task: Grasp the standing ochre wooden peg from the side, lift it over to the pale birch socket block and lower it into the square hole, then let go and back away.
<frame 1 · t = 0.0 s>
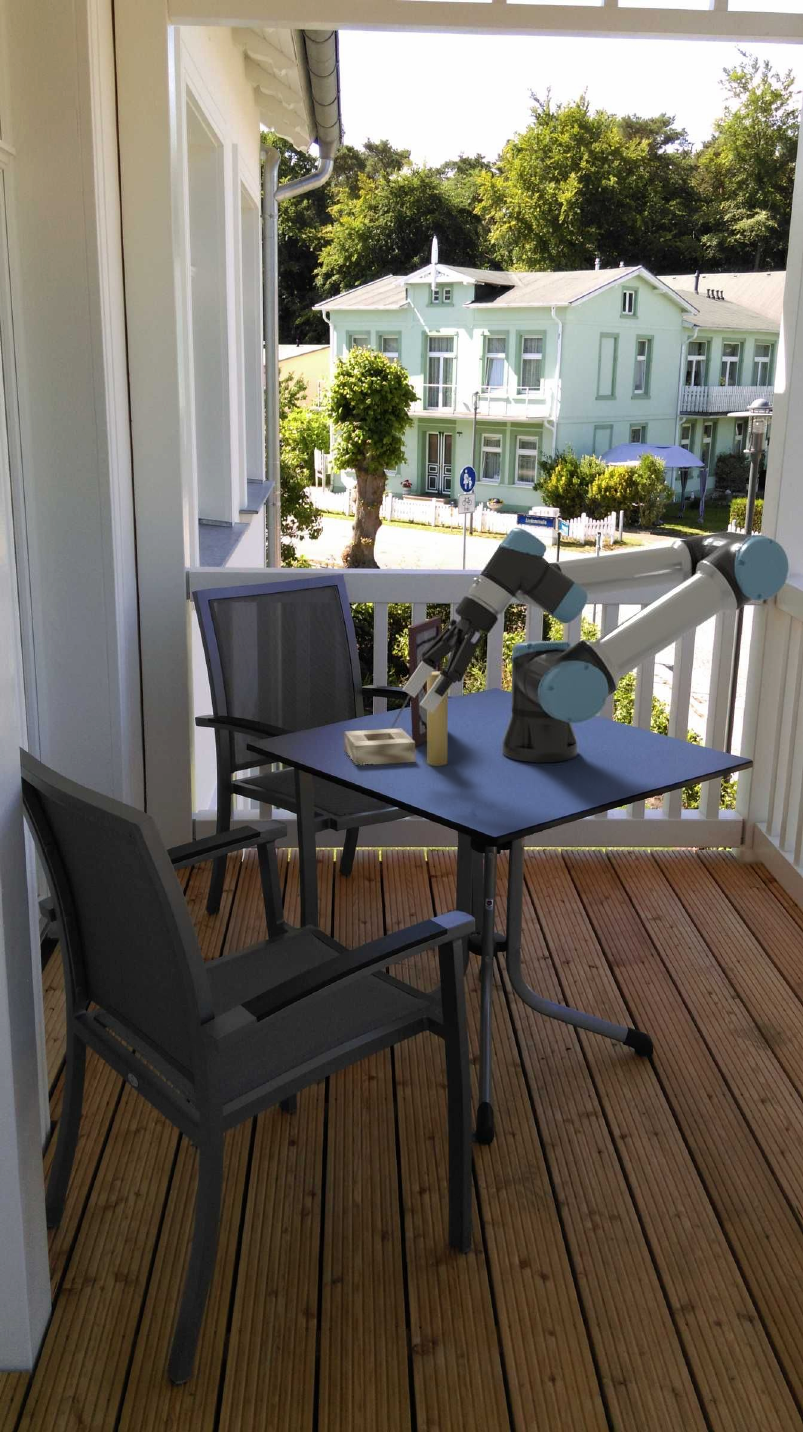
hand: (416, 701, 213), 15 cm above the table, tool tilted 35°, fingers open, 13 cm apart
peg: (437, 763, 229), on the table
picture frame: (410, 736, 251), on the table
socket block: (379, 755, 235), on the table
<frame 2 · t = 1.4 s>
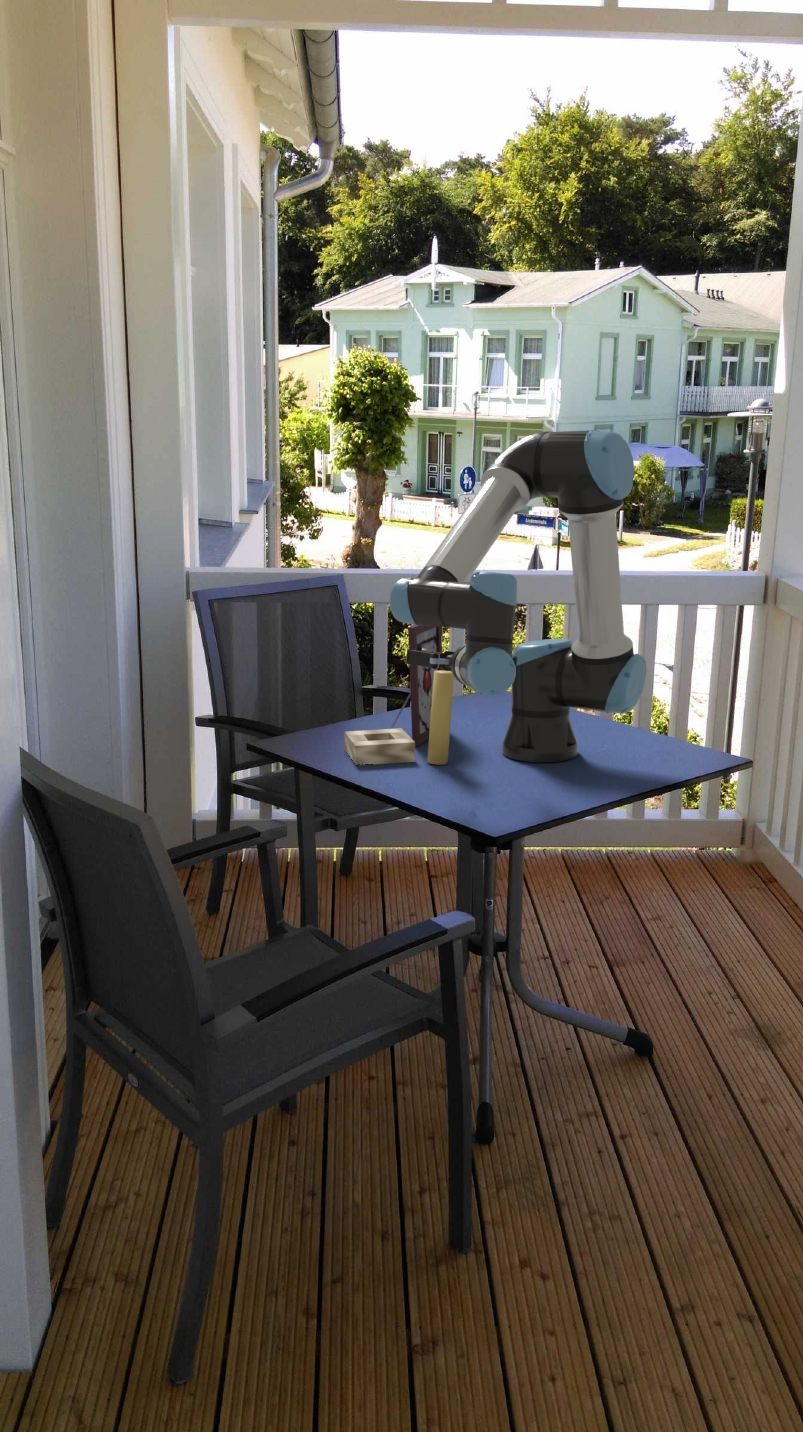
hand: (454, 657, 218), 22 cm above the table, tool horizontal, fingers open, 13 cm apart
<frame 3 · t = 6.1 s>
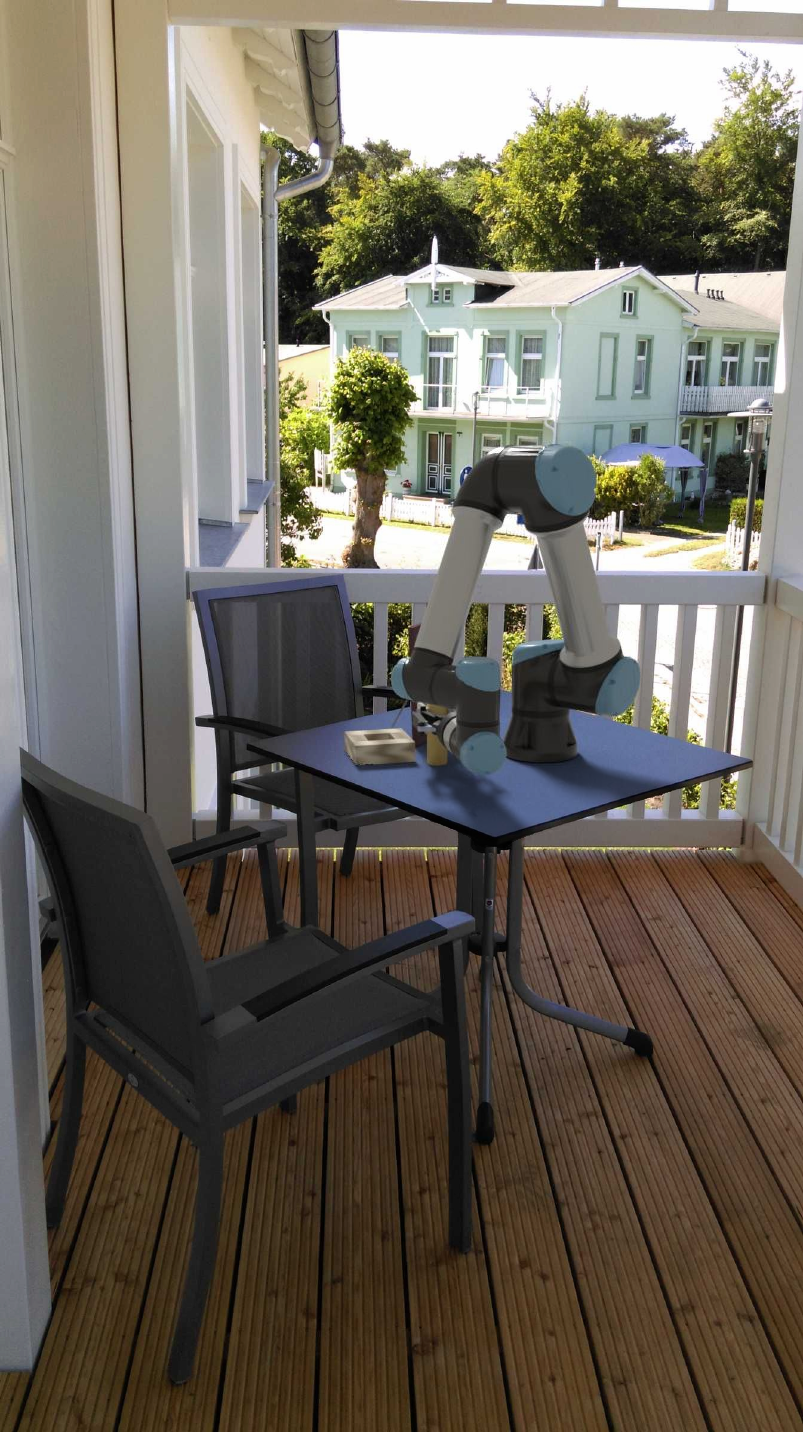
hand: (430, 707, 232), 10 cm above the table, tool horizontal, fingers closed on peg, 4 cm apart
peg: (437, 763, 229), on the table, touching gripper
everything else where it was.
when the fingers open (11 cm above the table, at t = 11.3 s): peg stays where it is, resting in socket block.
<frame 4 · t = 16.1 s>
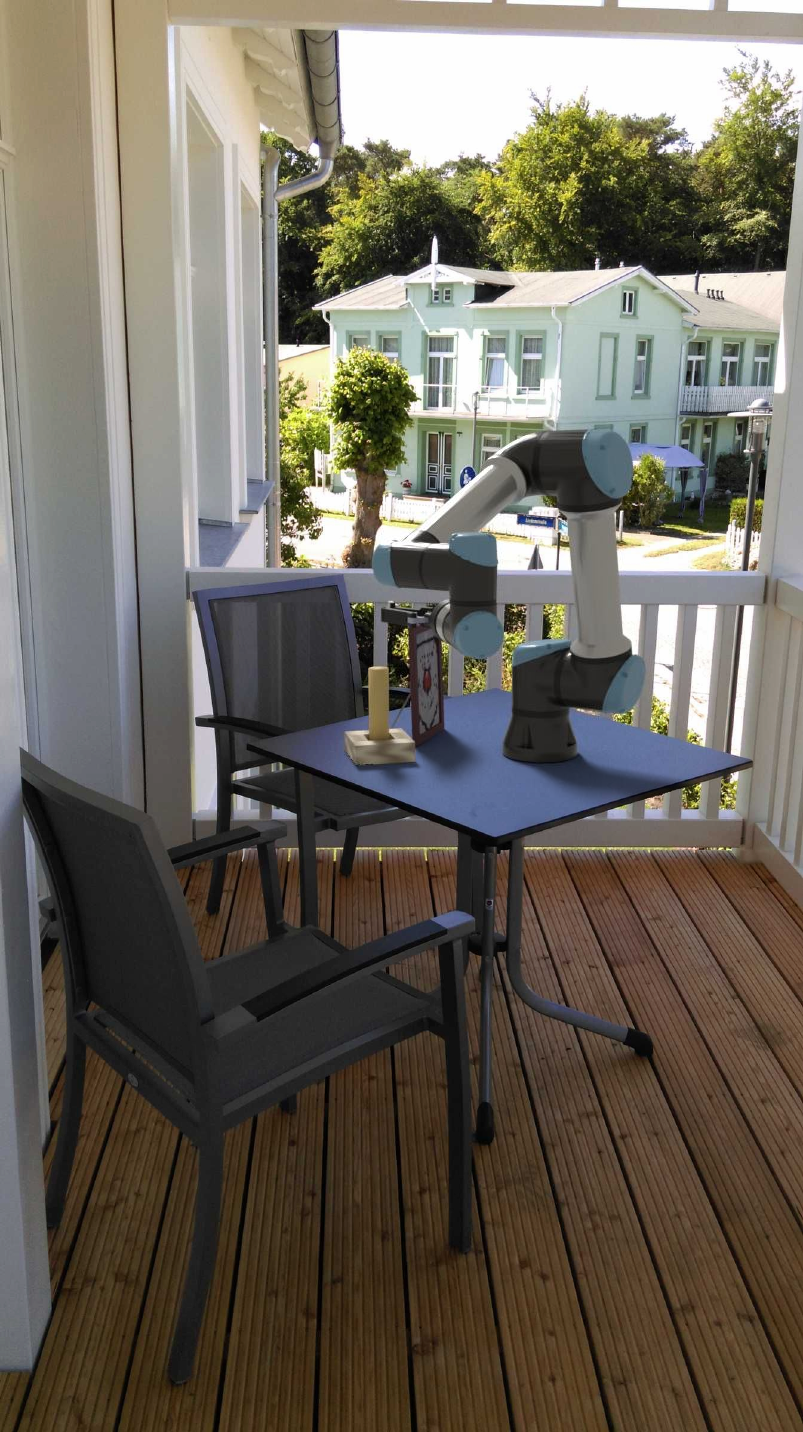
hand: (425, 606, 215), 32 cm above the table, tool horizontal, fingers open, 13 cm apart
peg: (379, 756, 235), resting in socket block
everything else where it was.
at the end: peg 0.1 cm from the socket block (horizontally); peg resting in socket block; peg tilted 0° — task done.
